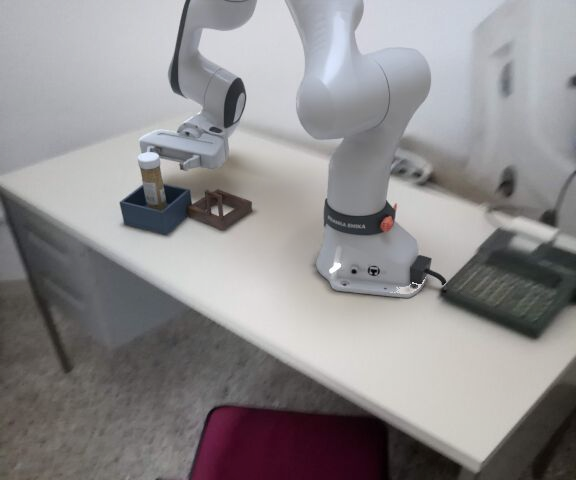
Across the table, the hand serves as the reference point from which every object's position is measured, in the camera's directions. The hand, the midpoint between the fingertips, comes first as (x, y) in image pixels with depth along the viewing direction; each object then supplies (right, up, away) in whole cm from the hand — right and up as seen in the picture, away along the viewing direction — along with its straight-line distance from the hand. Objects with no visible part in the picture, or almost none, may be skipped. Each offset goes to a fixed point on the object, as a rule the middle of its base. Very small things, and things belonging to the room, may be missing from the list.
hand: (164, 163), depth 131 cm
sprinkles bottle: (-2, -10, +4) cm, 11 cm away
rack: (+12, -10, +5) cm, 16 cm away
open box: (-2, -11, +4) cm, 12 cm away
